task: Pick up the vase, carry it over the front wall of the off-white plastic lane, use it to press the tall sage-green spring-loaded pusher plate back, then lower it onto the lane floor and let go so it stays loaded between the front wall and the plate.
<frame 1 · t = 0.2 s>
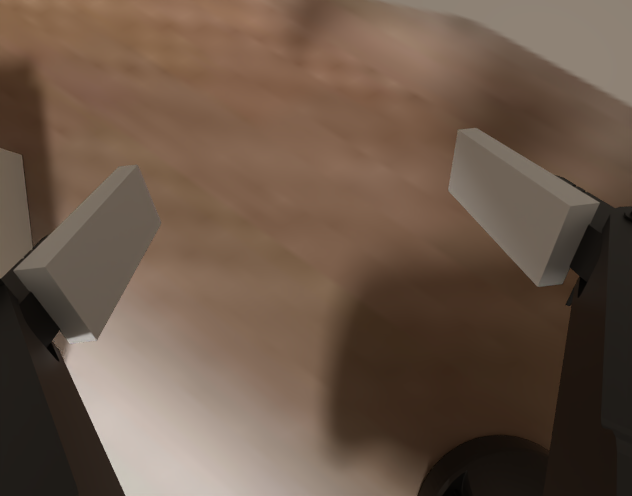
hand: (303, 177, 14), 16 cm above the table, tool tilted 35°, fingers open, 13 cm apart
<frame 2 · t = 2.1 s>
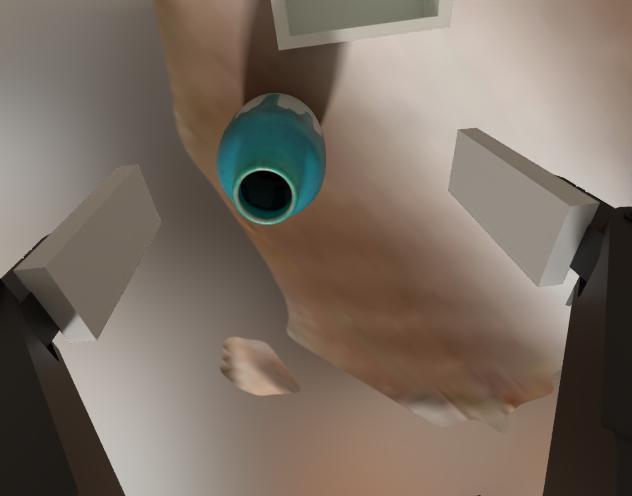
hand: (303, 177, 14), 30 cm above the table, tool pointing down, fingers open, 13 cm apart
vase: (280, 130, 43), on the table
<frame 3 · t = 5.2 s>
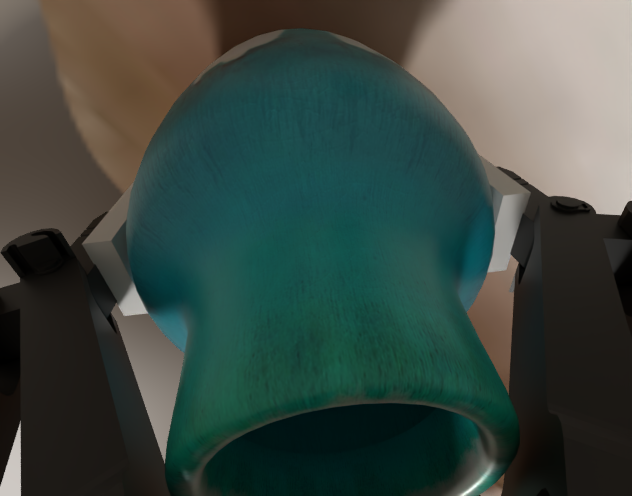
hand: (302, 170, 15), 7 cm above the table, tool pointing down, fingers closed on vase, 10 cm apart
vase: (296, 125, 21), on the table, touching gripper
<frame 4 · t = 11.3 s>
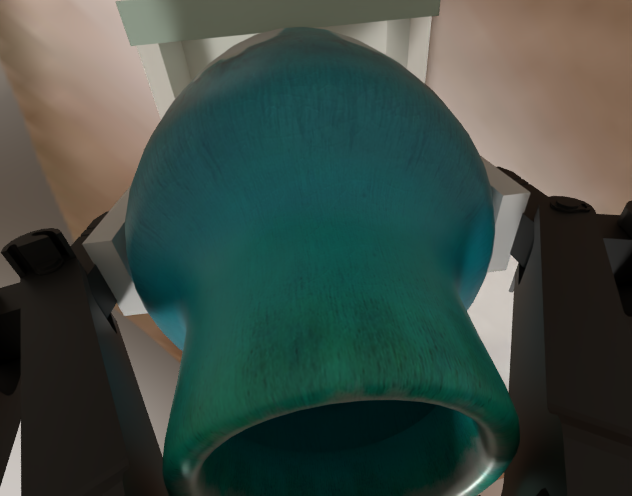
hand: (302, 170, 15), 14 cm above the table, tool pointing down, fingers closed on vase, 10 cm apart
vase: (296, 124, 21), point 7 cm above the table, touching gripper
pusher lane: (286, 47, 24), on the table
when the fingers open (9 cm above the table, at t = 13.4 s): vase stays where it is, resting on pusher, pusher lane.
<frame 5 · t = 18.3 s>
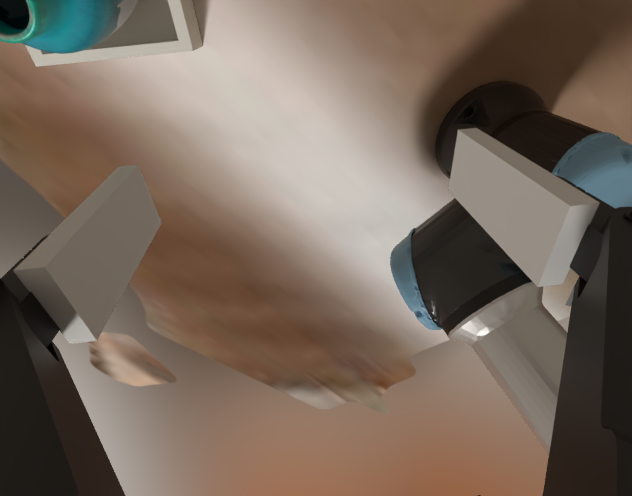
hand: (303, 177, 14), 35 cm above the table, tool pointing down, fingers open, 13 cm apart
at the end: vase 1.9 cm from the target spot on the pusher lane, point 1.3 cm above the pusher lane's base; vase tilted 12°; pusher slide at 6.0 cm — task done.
